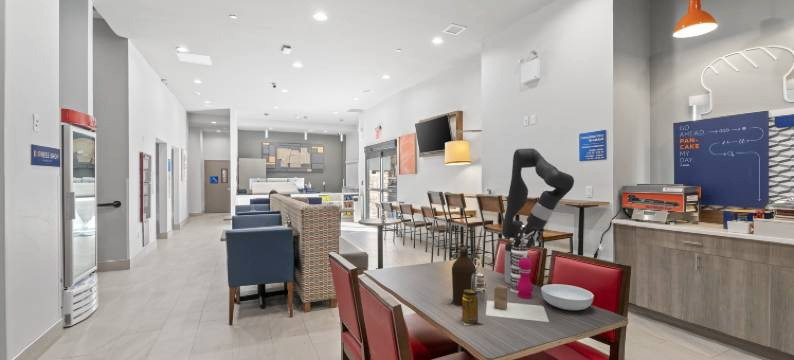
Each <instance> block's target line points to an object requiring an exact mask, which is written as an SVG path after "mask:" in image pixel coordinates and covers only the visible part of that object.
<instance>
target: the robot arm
mask: <svg viewBox="0 0 794 360" xmlns="http://www.w3.org/2000/svg"><path fill="white" fill-rule="evenodd" d="M523 168H525V169H526V168H528V169H529V168H535V173H536V174H537V176H538V177H540V179H542V180H543V181H544V183H545V184H546V185H547V186H549V187H551V188H553V190H543V191H542V193H541V195H540V196H539V198H538V199H537V201H536V203H535V204H534V205H533V207H532V209H531V211H530V212H529V214H528V216H527V218H526V222H527V223H526V225H524V222H523V221H521V220H514V218H515V216H516V215H517V214H518V213H519V212H520V211H521V210H522V209H523V208H524V207H525V206H526V204H527V201H528V195H529V189H528V187H527V184H526V183H525V181H524V178H523V177H522V169H523ZM510 180H511V181H510V185H509V190H508V196H507V204H506V210H505V214H504V218H503V222H502V227H501V232H502V233H501V234H502V236H503V237H504V238H507V239H514V240H516V241H515V242H514V244H513V245H514V246H515V247H516V248H518V247H519V245H520V243H521V242H522V240H523V241H525V240H524V239H527V238H528V237H529V238H528V241H526V243H527V244H526V247H528V248H527V249H531V248H532V246H533V244H534V243H535V242H537V241H539V240H541V237H542V235H543V234H544V232H545V226H546V224H547V223H548V221H549V220H550V218H551V216H552V214H553V212H554V209H555V208H556V207H557V205H558V203H559V202H560V201H561V200H562V199H563V198H564V197H565V196H566V195H567V194H568V193H569V192H570V191H571V190H572V188H573V187H574V184H575V179H574V177H573V175H571V174H568V173H566V172H563V171H561V170H559V169H558V168H557V167H556V166H554V165H553V164H552V163H550V162H548V161H547V160H546V159H545V158H544V157H543V155H541V153H540V152H539V151H538V150H537V149H535V148H518V149H515V151H514V152H513V157H512V168H511V179H510ZM511 243H513V241H511V242H508V243H506V244H505V246H504V283H506V284H508V285H509V284H510V282H511V281H510V279H511V278H510V276H511V266H510V265H511V263H510V261H511V260H510V258H511V256H510V254H511V253H510V251H511V249H512V244H511Z"/></svg>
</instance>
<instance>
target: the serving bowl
mask: <svg viewBox="0 0 794 360" xmlns="http://www.w3.org/2000/svg"><path fill="white" fill-rule="evenodd" d="M540 289H541V290H540V291H541V296H542V297H543V299H544V300H545V301H546V302H547V303H548V304H550V306H553V307H555V308H558V309H561V310H565V311H580V310H581V311H582V310H586V309H587V308H589V307H590V306H591V305H592V304H593V301H594V298H595V295H594V294H593V293H592V292H591V291H589V290H587V289H585V288H582V287H579V286H575V285H569V284H560V283H559V284H557V283H552V284H545V285H542V286H541V288H540Z"/></svg>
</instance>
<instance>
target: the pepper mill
mask: <svg viewBox="0 0 794 360" xmlns="http://www.w3.org/2000/svg"><path fill="white" fill-rule="evenodd" d="M518 265H519V267H520V270H519V271H520V274H521V275H520V280H519V282H518V284H517V290H518V291H519V292H518V293H517V297H518V298H520V299H524V300H530V299H533V298H532V297H533V295H532V292H533V291H534V287H533V283H532V281H531V278H530V273H531V272H532V271H531V268H532V266H533V263H532V261H531V260H530V259H529V258H528V259H527V256H526V255H524V256H523V258H522V259H520V260H519V262H518Z"/></svg>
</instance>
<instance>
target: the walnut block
mask: <svg viewBox="0 0 794 360" xmlns="http://www.w3.org/2000/svg"><path fill="white" fill-rule="evenodd" d="M493 290H494V291H493V301H494V308H495V309H499V310H505V311H506V309H507V303H508V286H506V285H505V286H504V285H496V286H495V287H494V289H493Z"/></svg>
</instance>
